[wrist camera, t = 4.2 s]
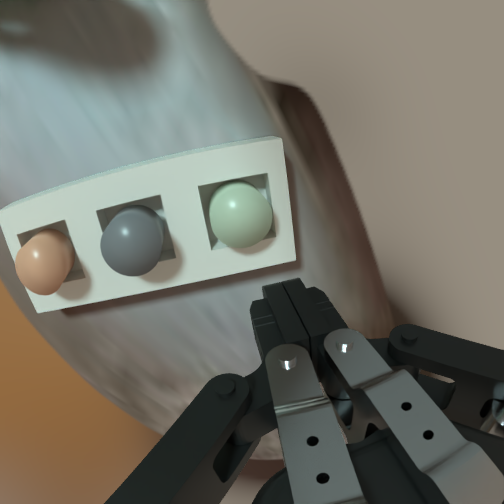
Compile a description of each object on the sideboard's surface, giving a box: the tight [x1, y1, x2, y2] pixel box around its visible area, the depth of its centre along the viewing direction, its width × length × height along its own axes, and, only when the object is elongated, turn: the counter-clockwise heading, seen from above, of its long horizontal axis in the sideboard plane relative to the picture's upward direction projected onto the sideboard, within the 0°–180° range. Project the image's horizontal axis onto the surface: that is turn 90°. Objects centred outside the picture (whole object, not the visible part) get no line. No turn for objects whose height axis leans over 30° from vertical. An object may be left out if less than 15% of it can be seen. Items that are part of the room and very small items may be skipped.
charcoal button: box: [100, 205, 165, 277], centre depth 22 cm, size 4×4×3 cm
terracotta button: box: [15, 228, 75, 295], centre depth 22 cm, size 4×4×3 cm
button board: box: [0, 136, 296, 313], centre depth 25 cm, size 10×24×3 cm, turn 99°
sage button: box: [208, 180, 273, 248], centre depth 24 cm, size 4×4×3 cm
